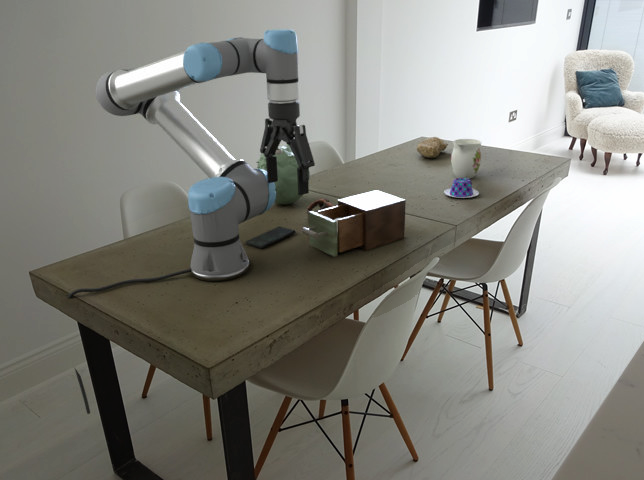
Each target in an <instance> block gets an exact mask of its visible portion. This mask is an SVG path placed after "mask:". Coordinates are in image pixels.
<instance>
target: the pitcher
mask: <svg viewBox="0 0 644 480" xmlns="http://www.w3.org/2000/svg"><path fill="white" fill-rule="evenodd" d="M452 144H453V149H452V151H451V156H450V164H451V169H452V173H453V175H454V176H455V177H456V179H457V178H467V179H469V180H471V179H473V178H474V177H475V176H476V174H477V173H478V171H479V169H480V167H481V166H480V165H481V161H482V152H481V145H482V141H481V140H480V139H479V140H478V139H474V138H460V139H459V138H458V139H454V140H453V141H452Z"/></svg>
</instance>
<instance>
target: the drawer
mask: <svg viewBox="0 0 644 480" xmlns="http://www.w3.org/2000/svg"><path fill="white" fill-rule="evenodd" d="M316 211H317V213H316ZM316 211H313V210H311V211H310V212H308V213H309V221H308V228H307V227H306V226H303V227H302V228H301V233H302V234H304V235H306V236H309V246H312V247H313V248H315V249H317V250H319V251H321V252H324V253H326V254H328V255H330V256H332V257H337V256H338V253H343V252H346V251H350V250H352V249H355V248H359V246H362V245H364V213H363V212H361V211H358V210H355V209H353V208H350V207H348V206H345V205H339V206H338V205H336V206H335V205H334V207H331V208H327V209H323V210H320V211H318V210H316ZM337 218H341V219H338V220H337V221H335V219H337ZM337 222H338V243H337Z"/></svg>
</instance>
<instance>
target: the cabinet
mask: <svg viewBox="0 0 644 480" xmlns="http://www.w3.org/2000/svg"><path fill="white" fill-rule="evenodd" d="M406 201H407V200H406V199H405V198H401V197H398V196H395V195H392V194H391V193H390V194H389V193H386V192H383V191H380V190H377V189H375V190H372V191H368V192H364V193H360V194H356V195H351V196H348V197H344V198H340V199H337V206H339V205H345V206H348V207H350V208H353V209H355V210H358V211H361V212H363V213H364V245H362V246H359V247H358V248H360V249H361V250H364V251H370V250H372V249H375V248H379V247H381V246H384V245H387V244H391V243H394V242H397V241H400V240H404V239H405V231H406V229H405V228H406V205H407V204H406Z"/></svg>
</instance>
